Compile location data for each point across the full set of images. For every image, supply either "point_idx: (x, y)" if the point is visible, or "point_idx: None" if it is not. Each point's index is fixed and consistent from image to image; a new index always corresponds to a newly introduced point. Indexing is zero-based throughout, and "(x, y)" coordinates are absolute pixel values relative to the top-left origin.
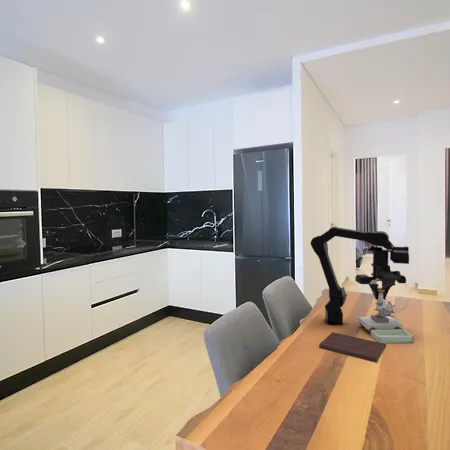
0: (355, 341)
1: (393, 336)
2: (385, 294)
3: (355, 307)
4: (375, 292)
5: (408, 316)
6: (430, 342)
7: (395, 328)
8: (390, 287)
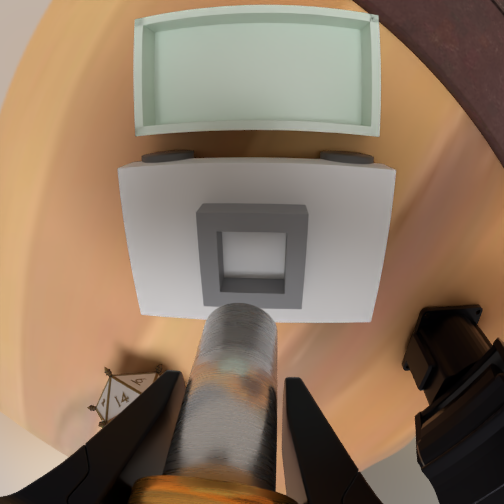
0: (491, 59)
1: (273, 10)
2: (140, 423)
3: None
4: (349, 472)
5: (60, 356)
6: (67, 50)
7: (179, 154)
8: (10, 496)
